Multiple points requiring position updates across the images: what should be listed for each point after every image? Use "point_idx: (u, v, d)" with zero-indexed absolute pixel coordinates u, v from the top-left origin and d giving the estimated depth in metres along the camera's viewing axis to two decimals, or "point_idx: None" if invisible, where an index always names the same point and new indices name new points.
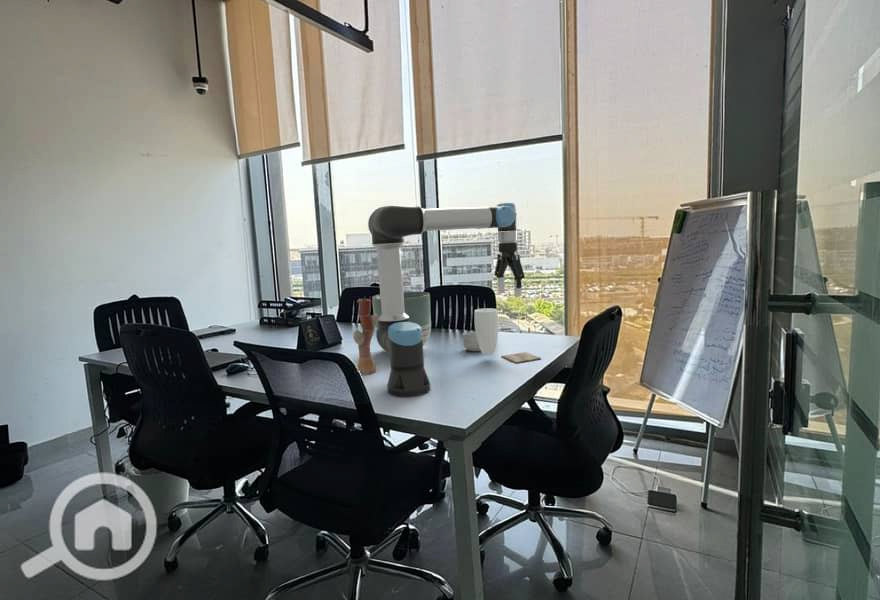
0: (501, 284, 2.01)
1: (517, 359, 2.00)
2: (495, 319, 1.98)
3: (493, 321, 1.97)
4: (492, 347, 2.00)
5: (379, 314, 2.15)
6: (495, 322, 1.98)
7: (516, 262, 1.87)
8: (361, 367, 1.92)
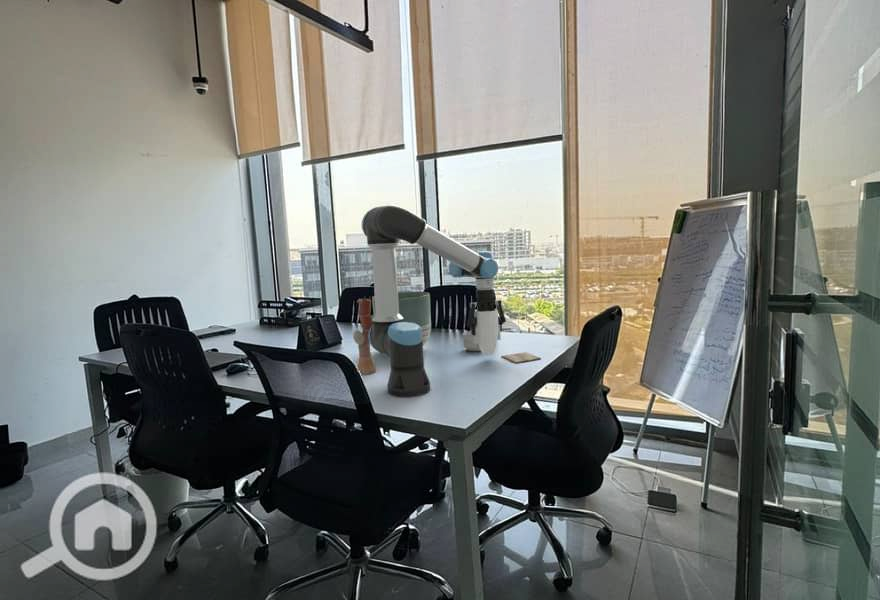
0: None
1: (517, 359, 2.00)
2: (495, 319, 1.98)
3: (493, 321, 1.97)
4: (492, 347, 2.00)
5: None
6: (495, 322, 1.98)
7: (470, 310, 1.99)
8: (361, 367, 1.92)
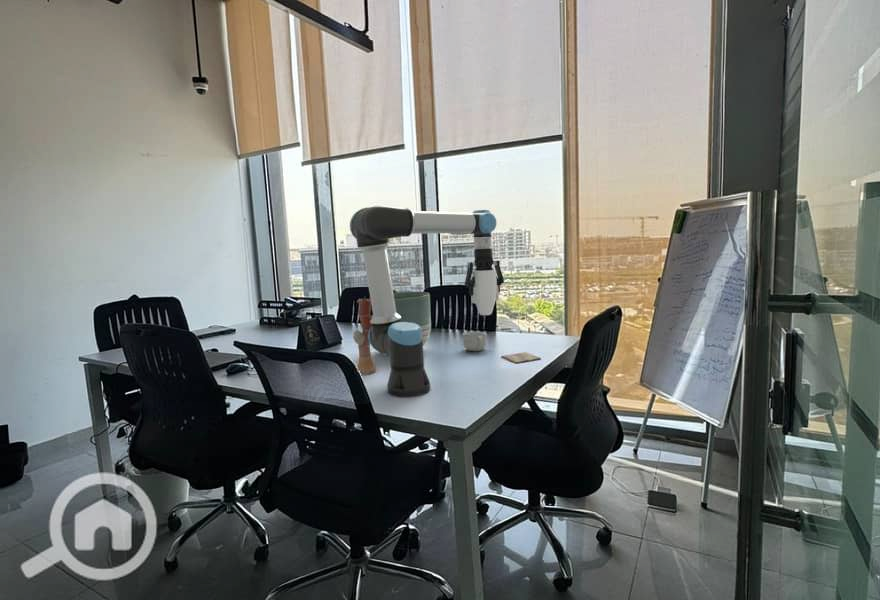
0: None
1: (517, 359, 2.00)
2: (493, 278, 1.96)
3: (491, 280, 1.95)
4: (490, 307, 1.98)
5: None
6: (494, 281, 1.96)
7: (468, 270, 1.97)
8: (361, 367, 1.92)
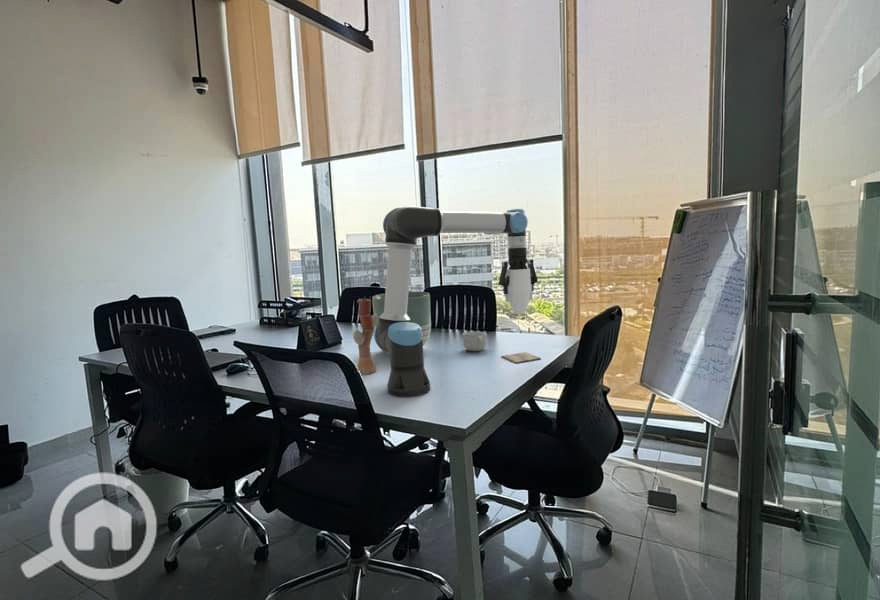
0: None
1: (517, 359, 2.00)
2: (528, 277, 1.96)
3: (526, 279, 1.95)
4: (524, 306, 1.98)
5: (379, 314, 2.15)
6: (528, 280, 1.96)
7: (502, 269, 1.97)
8: (361, 367, 1.92)
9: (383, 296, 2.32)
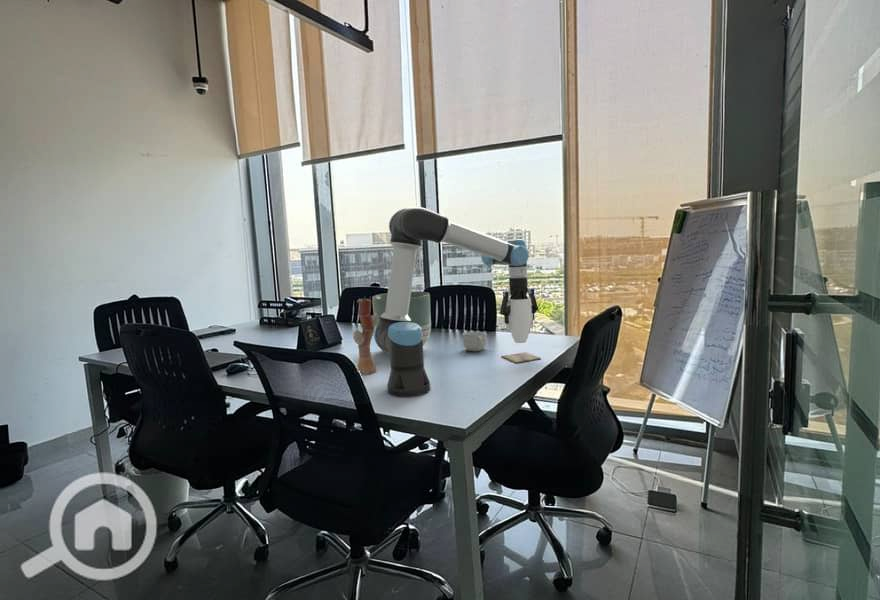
0: None
1: (517, 359, 2.00)
2: (528, 307, 1.98)
3: (527, 309, 1.97)
4: (525, 335, 2.00)
5: (379, 314, 2.15)
6: (529, 310, 1.98)
7: (503, 299, 1.99)
8: (361, 367, 1.92)
9: (383, 296, 2.32)
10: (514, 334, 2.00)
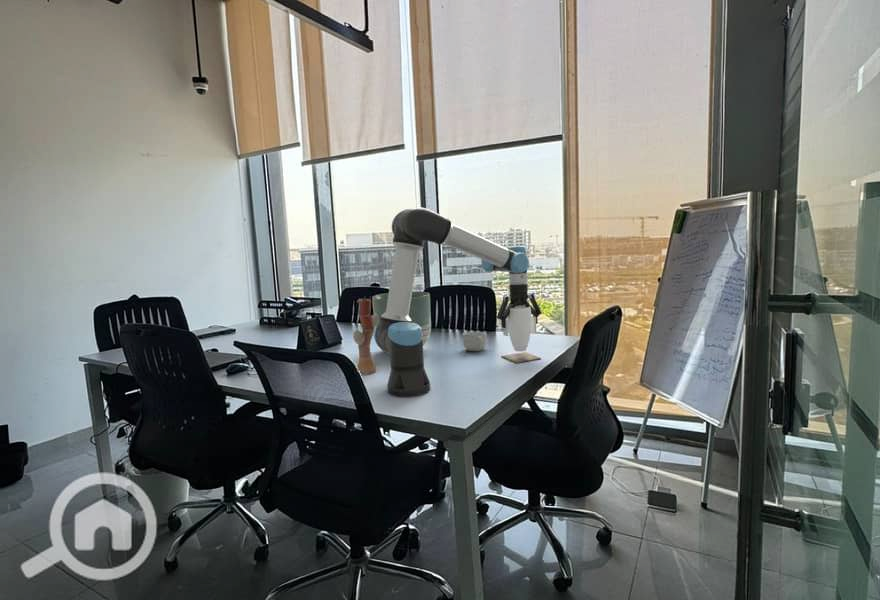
0: (532, 323, 2.04)
1: (517, 359, 2.00)
2: (528, 316, 1.98)
3: (527, 318, 1.97)
4: (525, 344, 2.00)
5: (379, 314, 2.15)
6: (529, 318, 1.98)
7: (502, 303, 1.99)
8: (361, 367, 1.92)
9: (383, 296, 2.32)
10: (514, 342, 2.01)
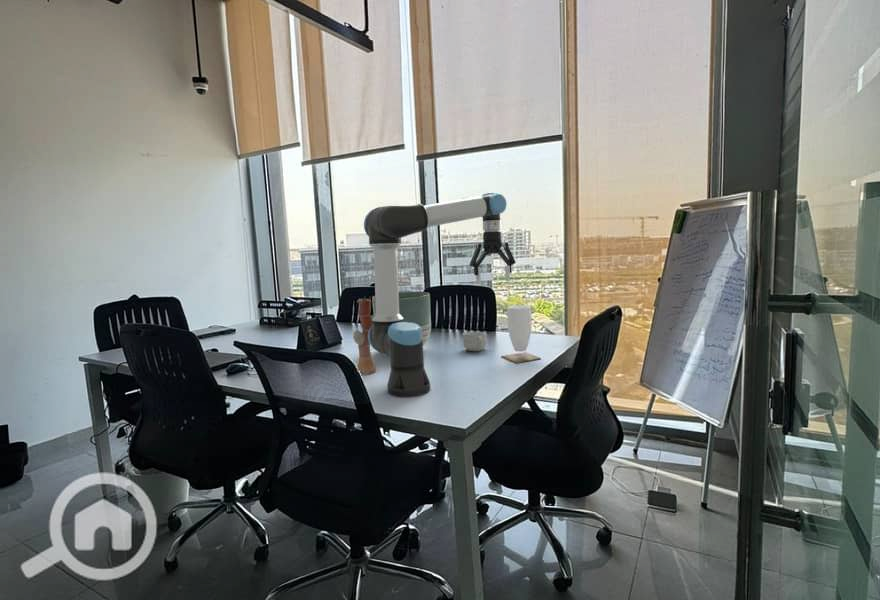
0: (506, 272, 2.04)
1: (517, 359, 2.00)
2: (529, 316, 1.98)
3: (527, 318, 1.97)
4: (525, 344, 2.00)
5: None
6: (529, 318, 1.98)
7: (475, 250, 1.99)
8: (361, 367, 1.92)
9: None
10: (514, 342, 2.01)
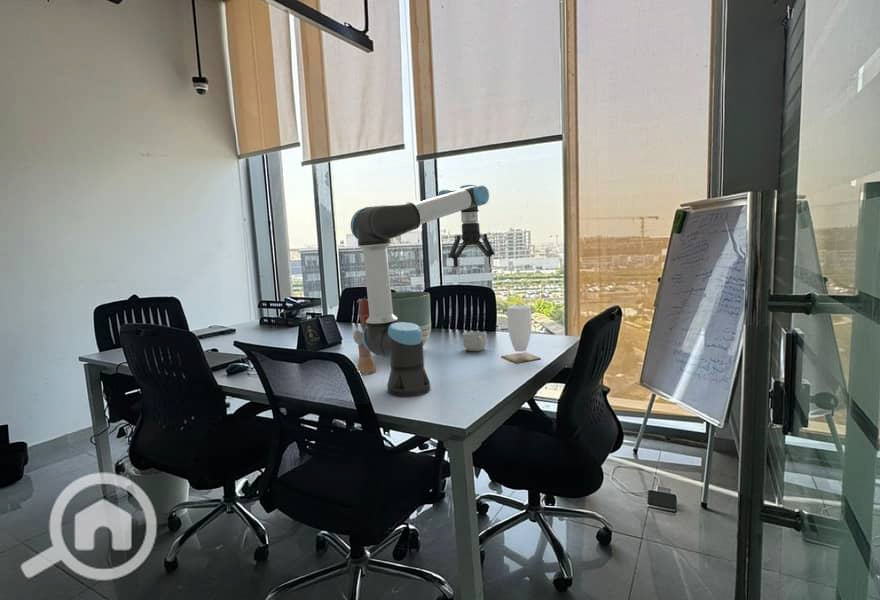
0: (485, 263, 2.07)
1: (517, 359, 2.00)
2: (529, 316, 1.98)
3: (527, 318, 1.97)
4: (525, 344, 2.00)
5: None
6: (529, 318, 1.98)
7: (454, 242, 2.01)
8: (361, 367, 1.92)
9: None
10: (514, 342, 2.01)
